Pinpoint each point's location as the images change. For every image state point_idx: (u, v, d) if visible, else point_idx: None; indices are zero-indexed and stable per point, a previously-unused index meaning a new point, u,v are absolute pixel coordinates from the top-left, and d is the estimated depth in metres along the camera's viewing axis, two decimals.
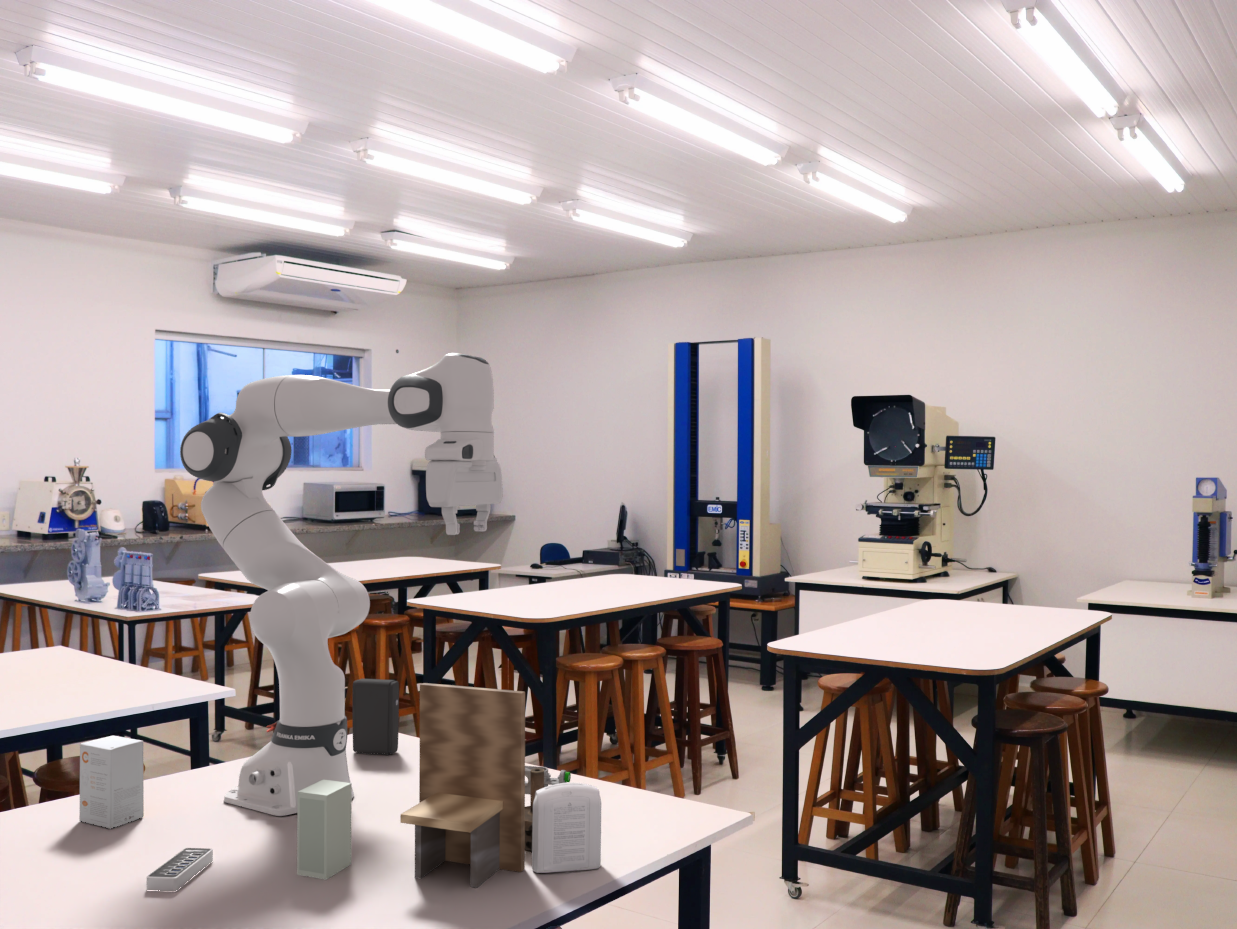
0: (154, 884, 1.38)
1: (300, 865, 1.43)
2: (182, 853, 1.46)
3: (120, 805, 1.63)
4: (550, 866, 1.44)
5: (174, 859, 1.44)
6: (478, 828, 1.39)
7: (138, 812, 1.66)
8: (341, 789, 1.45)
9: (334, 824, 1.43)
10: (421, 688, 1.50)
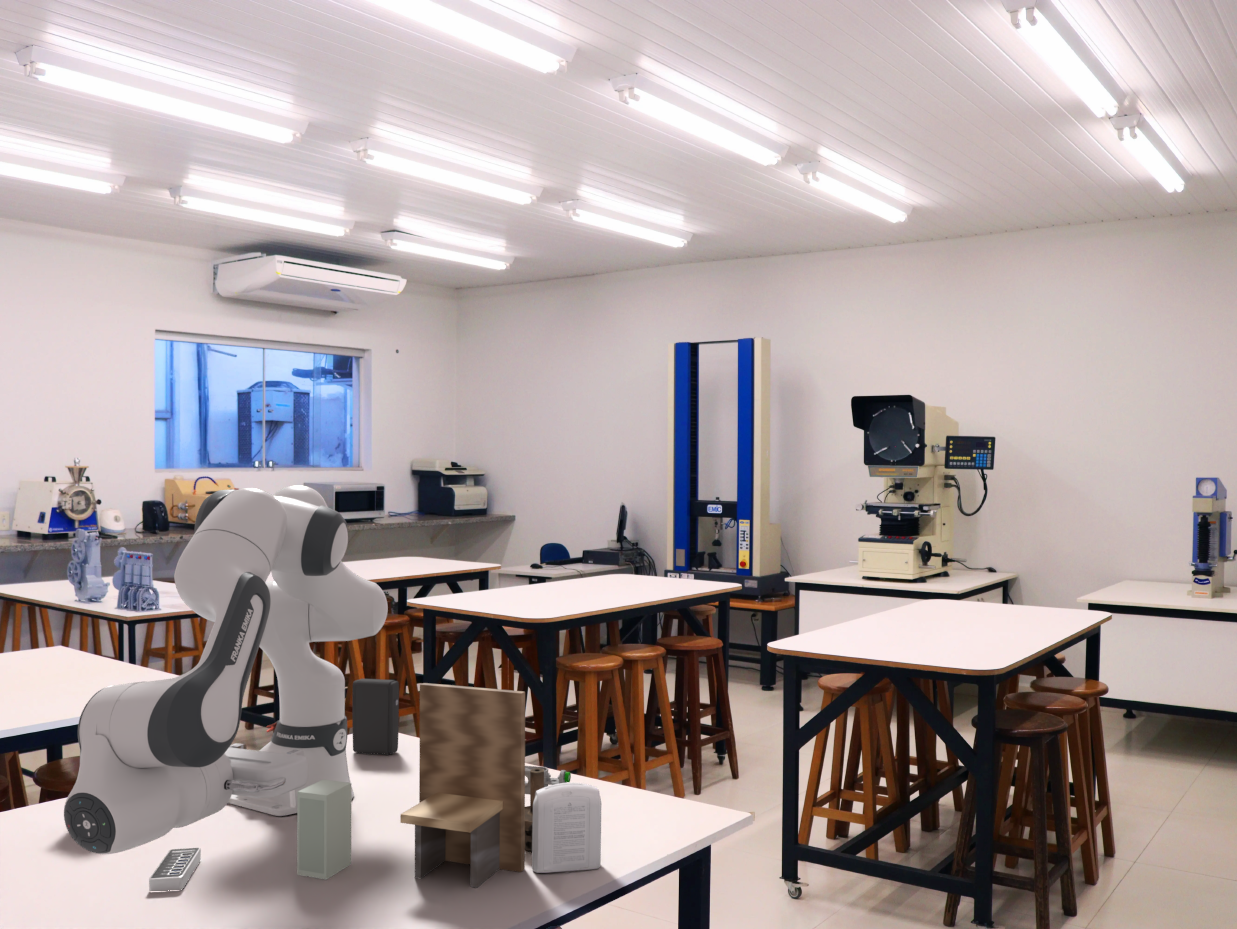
0: (158, 885, 1.37)
1: (300, 865, 1.43)
2: (171, 854, 1.46)
3: None
4: (550, 866, 1.44)
5: (167, 861, 1.43)
6: (478, 828, 1.39)
7: None
8: (340, 789, 1.45)
9: (333, 824, 1.43)
10: (421, 688, 1.50)
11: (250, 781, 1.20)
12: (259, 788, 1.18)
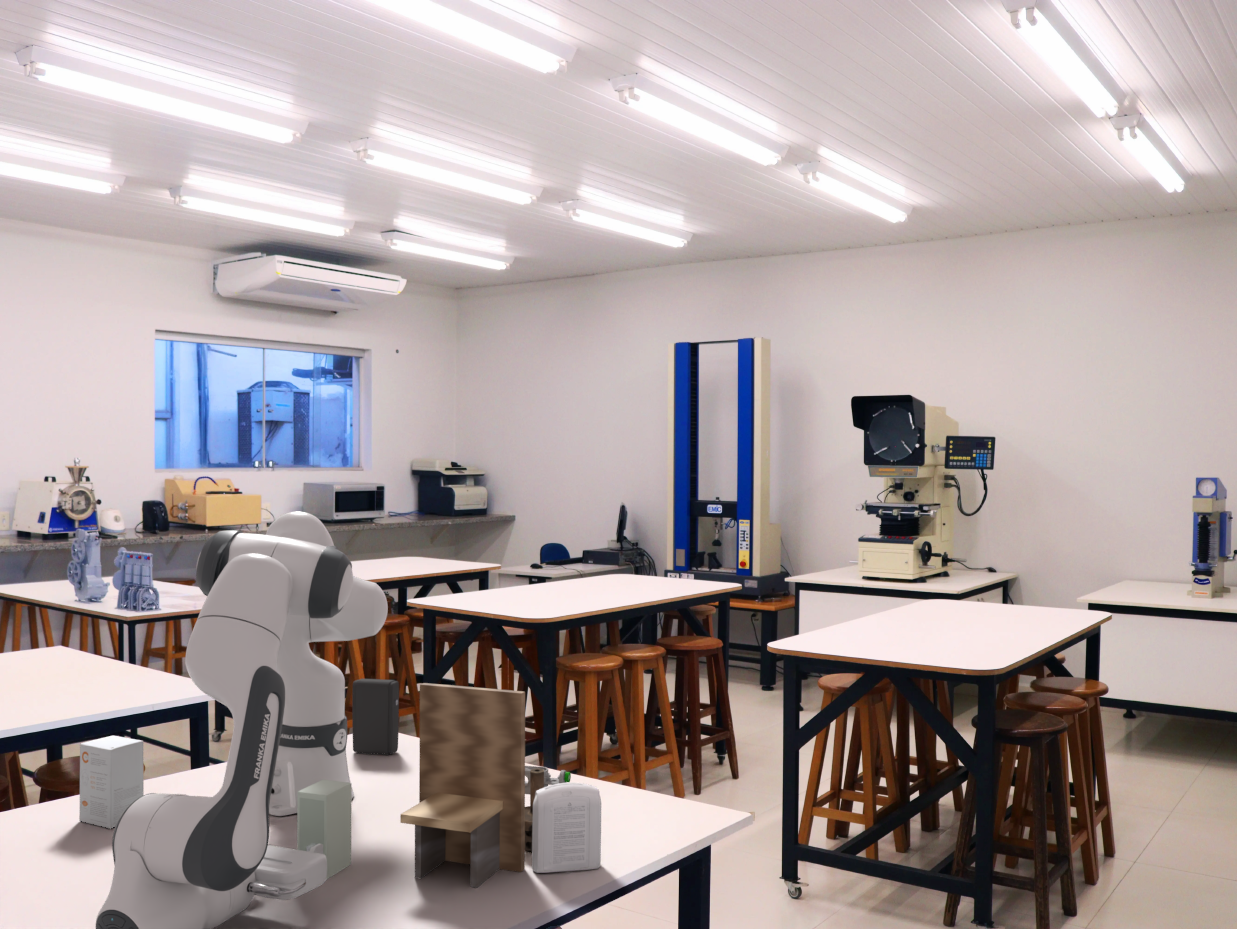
0: None
1: None
2: None
3: (120, 805, 1.63)
4: (550, 866, 1.44)
5: None
6: (478, 828, 1.39)
7: None
8: (341, 789, 1.45)
9: (334, 824, 1.43)
10: (421, 688, 1.50)
11: (272, 884, 1.24)
12: (281, 892, 1.23)
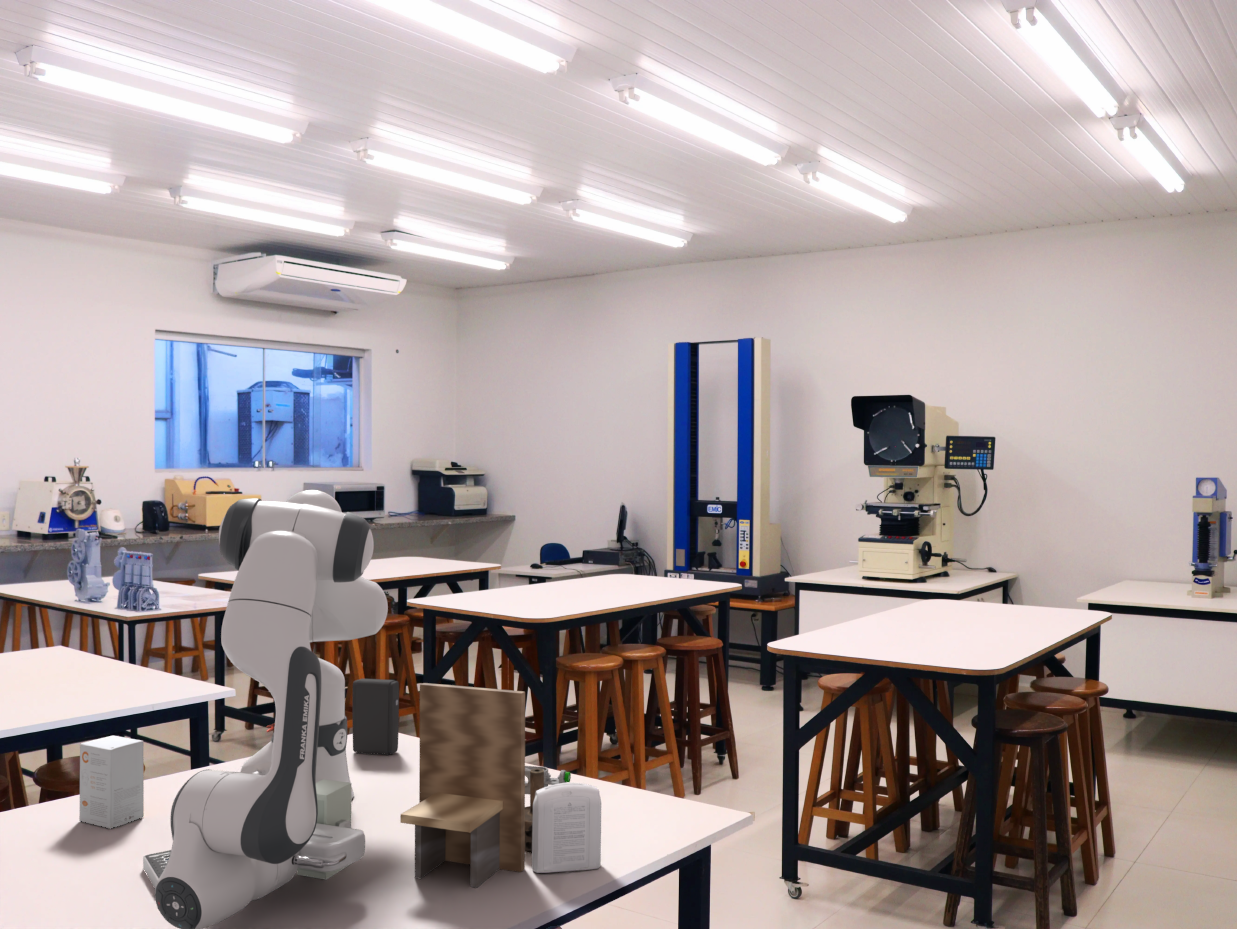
0: None
1: None
2: (151, 859, 1.44)
3: (120, 805, 1.63)
4: (550, 866, 1.44)
5: (155, 864, 1.42)
6: (478, 828, 1.39)
7: (138, 812, 1.66)
8: (341, 789, 1.45)
9: (334, 824, 1.43)
10: (421, 688, 1.50)
11: (315, 857, 1.32)
12: (324, 864, 1.31)
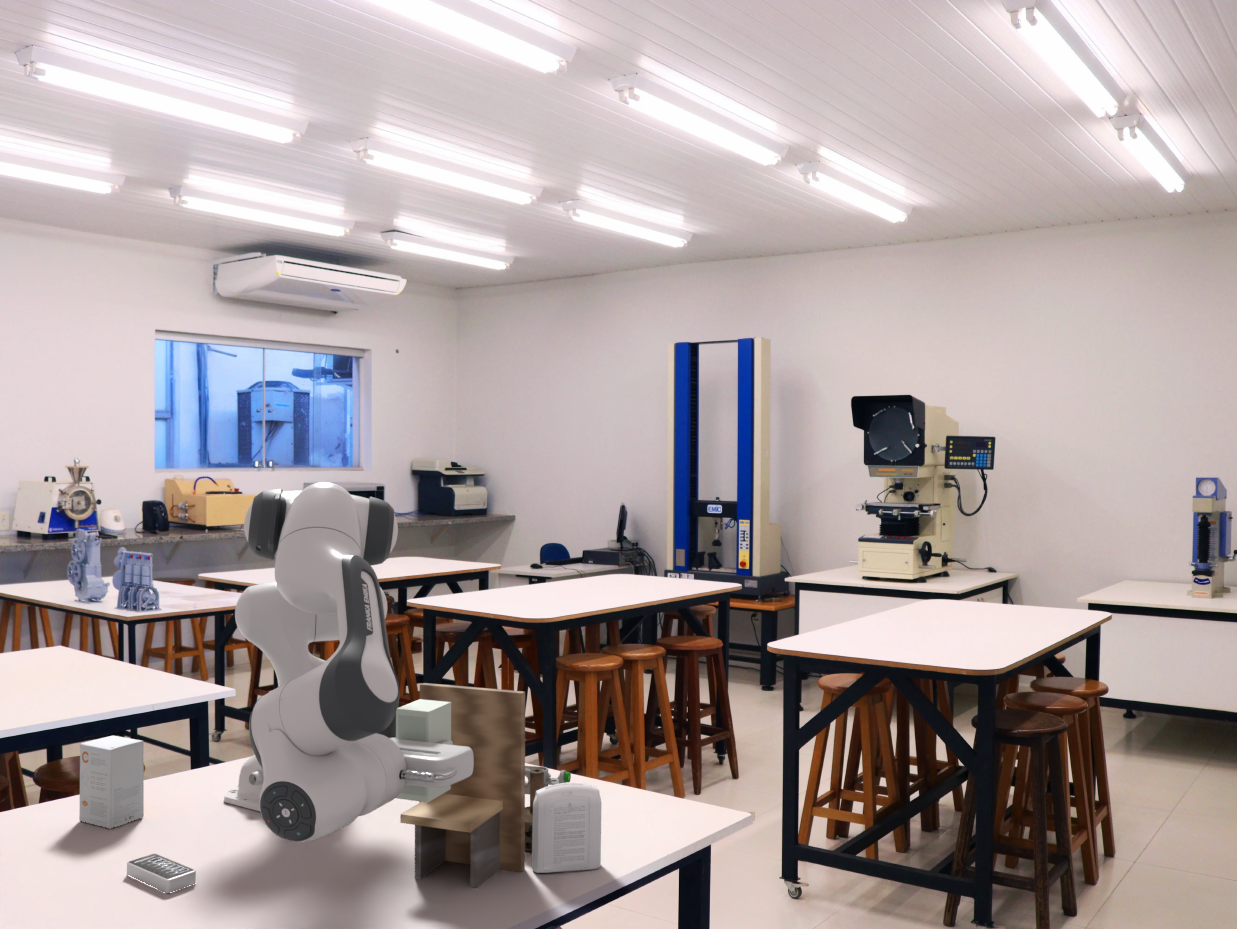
0: (176, 884, 1.38)
1: None
2: (139, 864, 1.42)
3: (120, 805, 1.63)
4: (550, 866, 1.44)
5: (148, 867, 1.41)
6: (478, 828, 1.39)
7: (138, 812, 1.66)
8: (441, 707, 1.35)
9: None
10: (421, 688, 1.50)
11: (424, 771, 1.22)
12: (435, 778, 1.20)
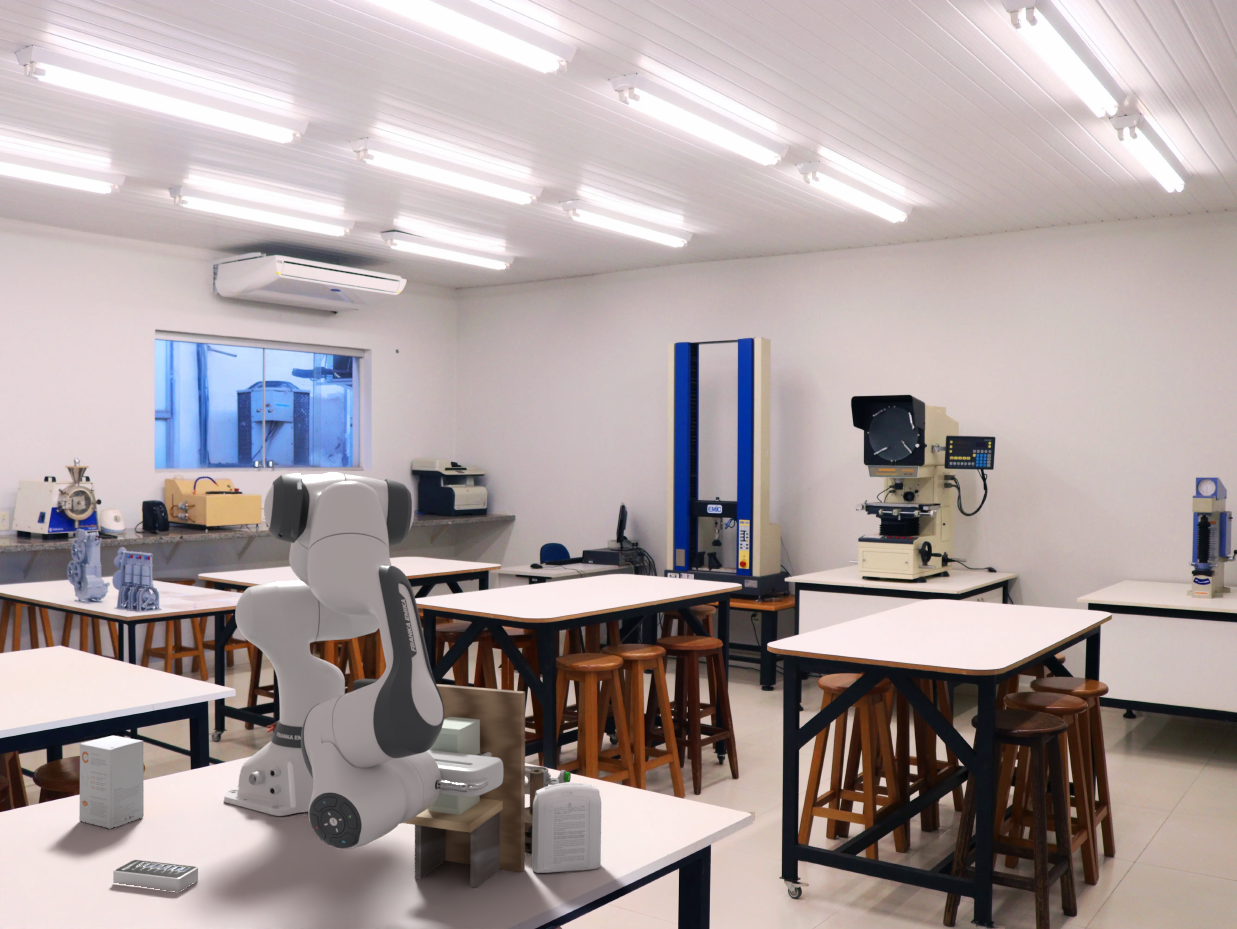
0: (184, 881, 1.38)
1: None
2: (130, 870, 1.40)
3: (120, 805, 1.63)
4: (550, 866, 1.44)
5: (144, 872, 1.39)
6: (478, 828, 1.39)
7: (138, 812, 1.66)
8: (471, 725, 1.43)
9: None
10: None
11: (458, 781, 1.30)
12: (469, 788, 1.28)
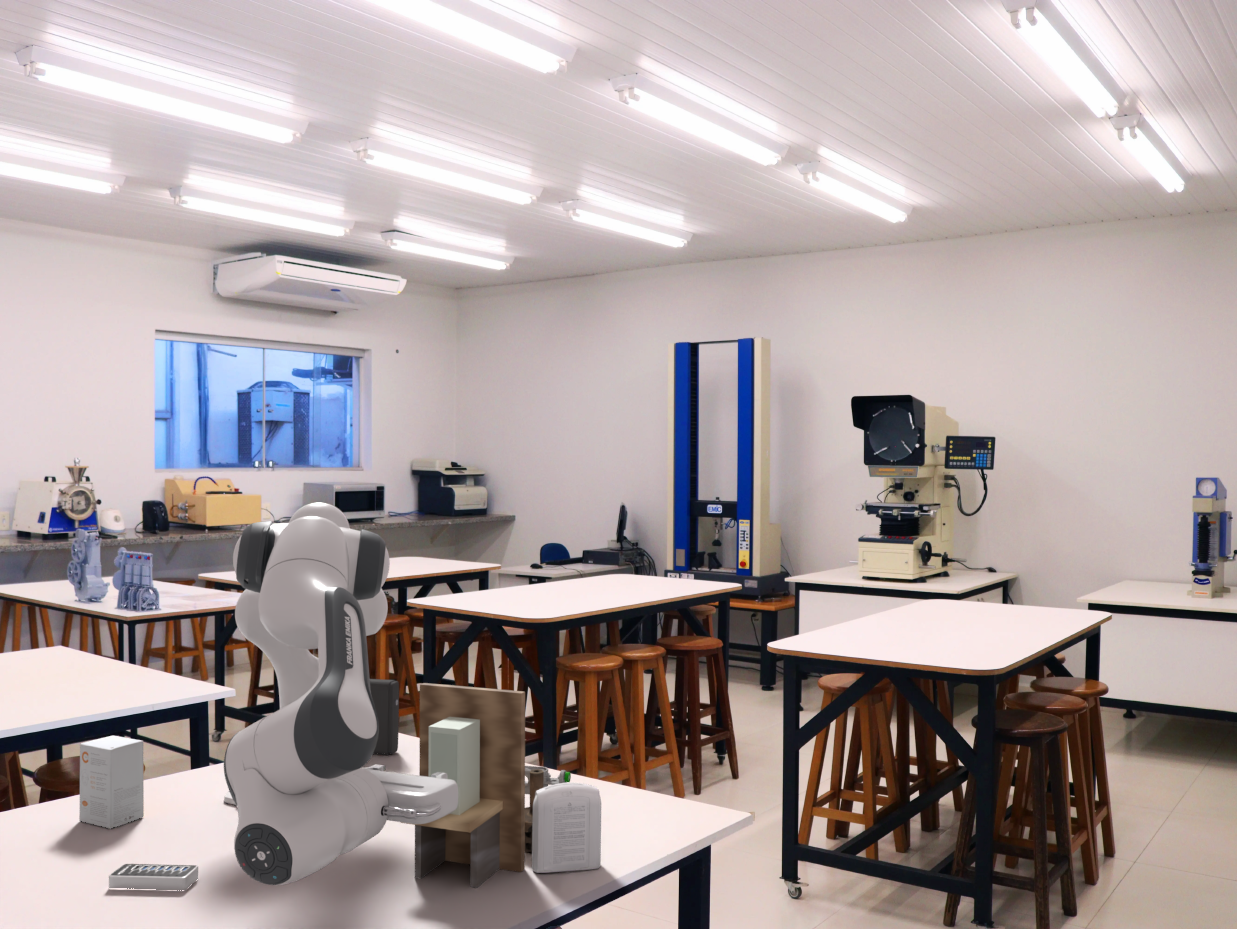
0: (189, 880, 1.39)
1: None
2: (127, 873, 1.39)
3: (120, 805, 1.63)
4: (550, 866, 1.44)
5: (143, 874, 1.39)
6: (478, 828, 1.39)
7: (138, 812, 1.66)
8: (471, 725, 1.43)
9: (465, 759, 1.41)
10: (421, 688, 1.50)
11: (407, 807, 1.18)
12: (418, 815, 1.17)
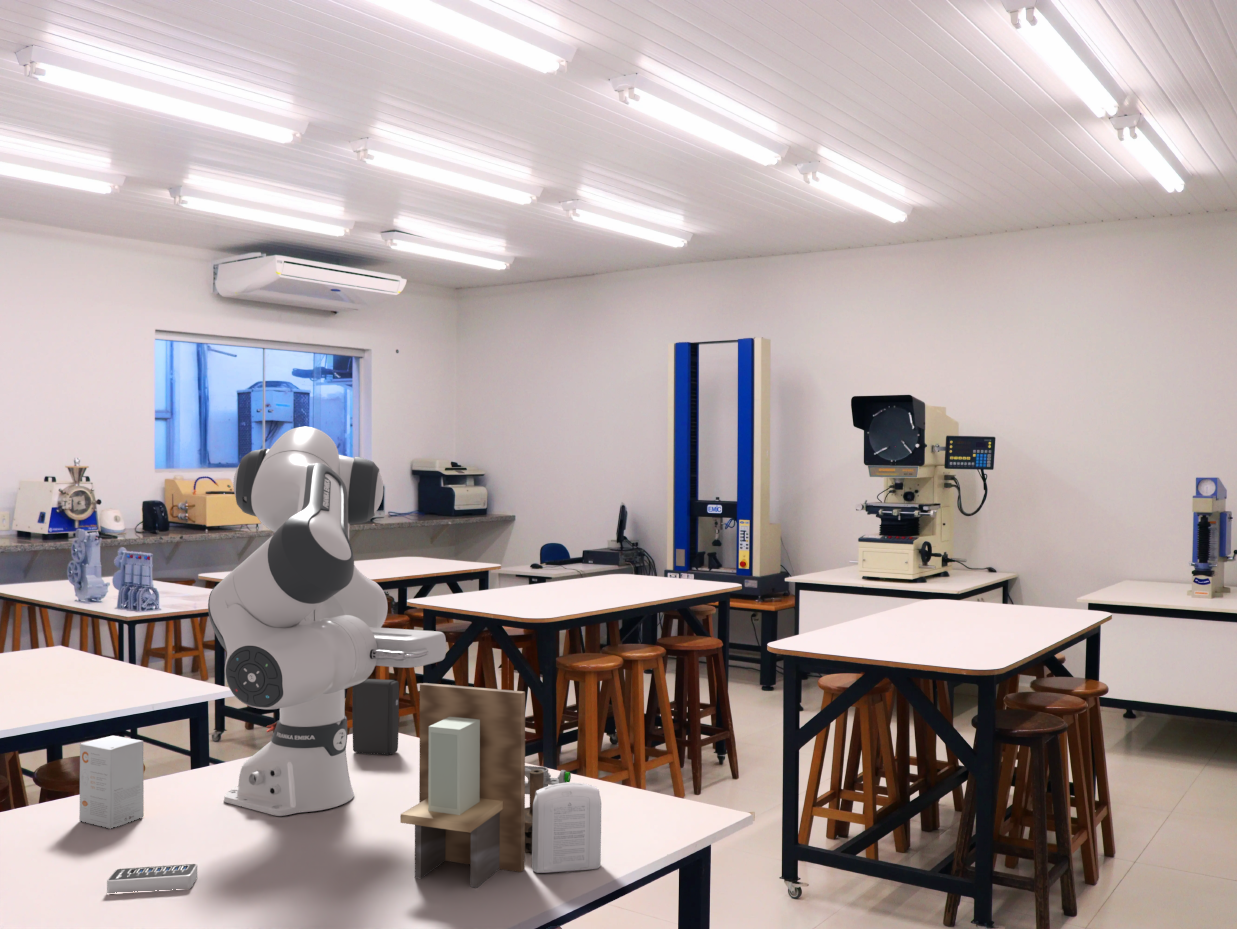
0: (192, 878, 1.40)
1: (431, 801, 1.41)
2: (126, 877, 1.38)
3: (120, 805, 1.63)
4: (550, 866, 1.44)
5: (144, 876, 1.38)
6: (478, 828, 1.39)
7: (138, 812, 1.66)
8: (471, 725, 1.43)
9: (465, 759, 1.41)
10: (421, 688, 1.50)
11: (395, 650, 1.21)
12: (406, 656, 1.20)
